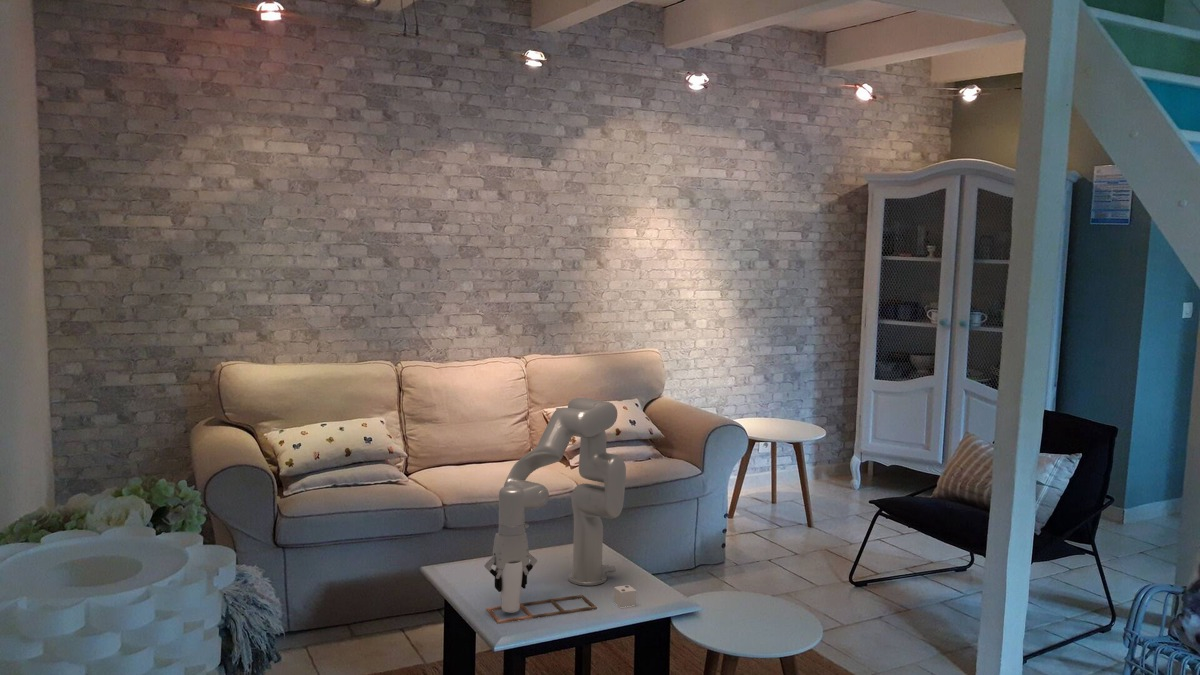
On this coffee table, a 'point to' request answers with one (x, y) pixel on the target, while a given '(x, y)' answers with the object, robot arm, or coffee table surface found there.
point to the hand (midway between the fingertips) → (510, 588)
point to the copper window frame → (530, 616)
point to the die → (624, 596)
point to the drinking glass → (511, 587)
